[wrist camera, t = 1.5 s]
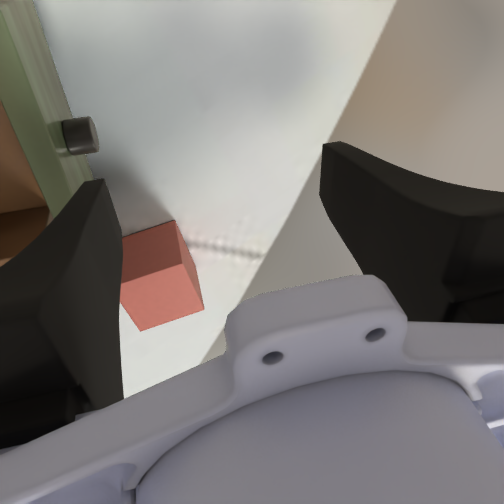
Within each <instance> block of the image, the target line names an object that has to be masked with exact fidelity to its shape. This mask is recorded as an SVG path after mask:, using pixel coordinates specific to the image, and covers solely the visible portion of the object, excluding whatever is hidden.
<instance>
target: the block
mask: <svg viewBox="0 0 504 504" xmlns="http://www.w3.org/2000/svg"><path fill="white" fill-rule="evenodd" d="M122 244H123V265H122V279H121V291H120V303H121V304H122V306H123V307H124V308H125V310H126V311H127V313H128V314H129V316H130V317H131V319H132V320H133V322H134V323H135V325H136V326H137V328H138V329H139V330H140V331H143V330H146V329H149V328H152V327H155V326H158V325H161V324H164V323H167V322H170V321H173V320H176V319H179V318H181V317H184V316H187V315H190V314H193V313H196V312H199V311H202V310H204V304H203V300H202V295H201V290H200V285H199V281H198V276H197V271H196V266H195V264H194V262H193V259H192V257H191V255H190V253H189V250H188V248H187V246H186V244H185V241H184V239H183V237H182V235H181V233H180V230H179V228H178V226H177V224H176V221H175V220H174V221H171V222H168V223H165V224H162V225H159V226H156V227H153V228H150V229H147V230H144V231H141V232H138V233H135V234H132V235H129V236H126V237H123V238H122Z"/></svg>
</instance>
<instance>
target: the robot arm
mask: <svg viewBox="0 0 504 504" xmlns="http://www.w3.org/2000/svg"><path fill="white" fill-rule="evenodd" d="M319 195H320V198H321V201H322V203H323V206H324V208H325V210H326V213H327V215H328V217H329V219H330V220H331V222H332V224H333V225H334V227H335V229H336V230H337V232H338V233H339V235H340V236H341V238H342V240H343V241H344V243H345V244H346V246H347V248H348V249H349V251H350V252H351V254H352V255H353V257H354V258H355V260H356V262H357V263H358V265H359V267H360V269H361V270H362V272H363V275H349V276H344V277H339V278H334V279H329V280H324V281H319V282H314V283H310V284H305V285H300V286H295V287H290V288H286V289H281V290H275V291H271V292H266V293H262V294H259V295H256V296H254V297H251V298H249V299H246V300H244V301H242V302H241V303H240V304H239V305H238V306H237V307H236V308H235V309H234V310H233V311H232V312H231V313H230V314H228V316H227V320H226V324H225V328H224V333H225V338H226V351H225V353H224V354H223V355H220V356H218V357H216V358H214V359H211V360H209V361H207V362H205V363H203V364H200V365H198V366H196V367H194V368H192V369H189V370H187V371H185V372H183V373H181V374H178V375H176V376H174V377H172V378H170V379H167V380H165V381H163V382H161V383H158V384H156V385H154V386H152V387H150V388H147V389H145V390H143V391H141V392H139V393H136V394H134V395H132V396H130V397H128V398H125V399H124V395H123V383H122V370H121V354H120V335H119V304H120V291H121V279H122V265H123V244H122V232H121V227H120V224H119V221H118V218H117V215H116V212H115V209H114V206H113V203H112V200H111V197H110V194H109V191H108V188H107V185H106V182H105V179H104V178H103V179H97V180H91V181H84V182H83V184H82V185H81V186H80V187H79V189H78V190H77V191H76V192H75V194H74V195H73V196H72V198H71V199H70V200H69V201H68V203H67V204H66V205H65V206H64V208H63V209H62V210H61V211H60V213H59V214H58V215H57V216H56V217H55V218H54V219H53V220H52V222H51V223H50V224H49V225H48V226H47V227H46V228H45V229H44V230H43V231H42V232H41V233H40V234H39V235H38V236H37V237H36V238H35V239H34V240H33V241H32V242H31V243H30V244H29V245H28V246H26V247H25V248H24V249H23V250H22V251H21V252H19V253H18V254H17V255H16V256H15V257H13V258H12V259H10V260H9V261H8V262H6V263H5V264H4V265H2V266H1V267H0V504H504V192H498V191H490V190H483V189H477V188H471V187H466V186H461V185H456V184H451V183H447V182H443V181H440V180H436V179H433V178H429V177H426V176H423V175H419V174H417V173H414V172H411V171H408V170H406V169H403V168H401V167H398V166H396V165H393V164H391V163H389V162H386V161H384V160H382V159H380V158H377V157H375V156H373V155H371V154H369V153H367V152H364V151H362V150H360V149H358V148H356V147H353V146H351V145H349V144H347V143H344V142H341V141H340V142H332V143H326V144H323V148H322V162H321V178H320V192H319Z"/></svg>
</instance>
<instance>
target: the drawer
mask: <svg viewBox="0 0 504 504" xmlns="http://www.w3.org/2000/svg"><path fill="white" fill-rule="evenodd" d="M98 151H99V141H98V136H97V132H96V128H95V125H94V123H93V120H92V119H91V117H88V116H87V117H80V118H73V117H72V114H71V111H70V108H69V105H68V102H67V100H66V97H65V94H64V91H63V88H62V85H61V82H60V79H59V76H58V73H57V70H56V68H55V65H54V62H53V59H52V56H51V53H50V50H49V47H48V44H47V41H46V38H45V36H44V33H43V30H42V27H41V24H40V21H39V18H38V15H37V12H36V9H35V6H34V3H33V1H32V0H0V267H1V266H2V265H4V264H5V263H6V262H8V261H9V260H10V259H12V258H13V257H15V256H16V255H17V254H18V253H19V252H21V251H22V250H23V249H24V248H25V247H26V246H28V245H29V244H30V243H31V242H32V241H33V240H34V239H35V238H36V237H37V236H38V235H39V234H40V233H41V232H42V231H43V230H44V229H45V228H46V227H47V226H48V225H49V224H50V223H51V222H52V220H53V219H54V218H55V217H56V216H57V215H58V214H59V213H60V211H61V210H62V209H63V208H64V206H65V205H66V204H67V203H68V201H69V200H70V199H71V198H72V196H73V195H74V194H75V192H76V191H77V190H78V189H79V187H80V186H81V185H82V184H83V182H84V181H91V180H94V178H93V175H92V172H91V169H90V167H89V164H88V161H87V158H86V155H85V154H89V153H95V152H98Z"/></svg>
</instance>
